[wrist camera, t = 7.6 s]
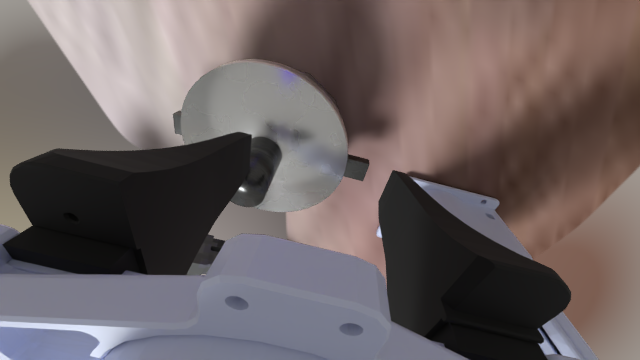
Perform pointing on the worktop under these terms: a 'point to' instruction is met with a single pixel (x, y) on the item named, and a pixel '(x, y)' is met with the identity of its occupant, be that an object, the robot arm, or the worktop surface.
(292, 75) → the lid
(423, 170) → the worktop surface
